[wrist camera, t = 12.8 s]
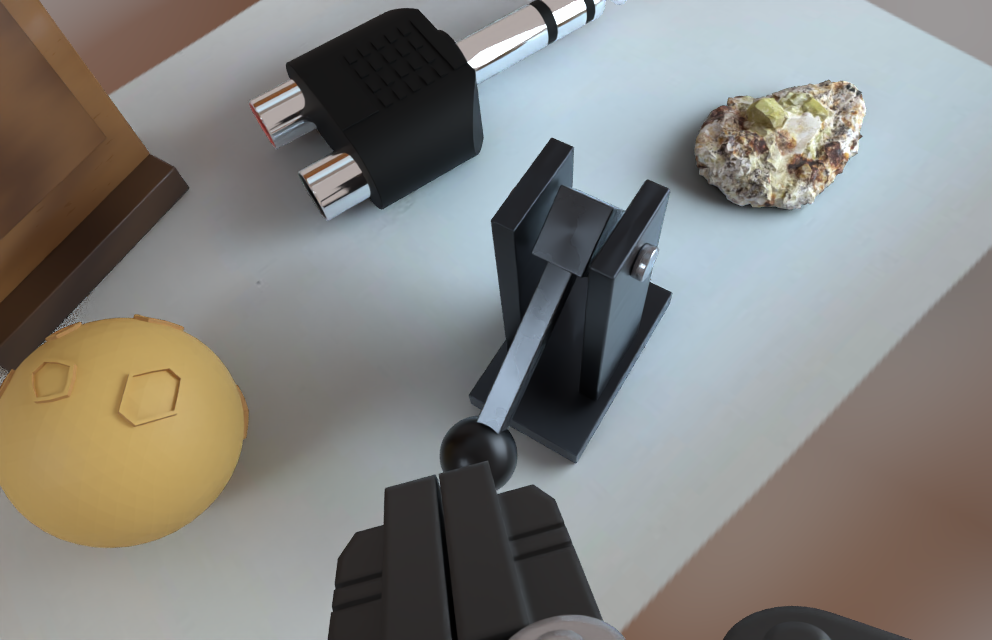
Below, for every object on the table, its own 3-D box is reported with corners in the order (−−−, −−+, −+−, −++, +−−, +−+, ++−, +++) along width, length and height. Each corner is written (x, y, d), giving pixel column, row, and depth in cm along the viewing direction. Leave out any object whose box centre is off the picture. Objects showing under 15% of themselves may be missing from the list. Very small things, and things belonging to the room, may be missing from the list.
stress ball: (287, 530, 35) (198, 471, 26) (78, 593, 35) (-85, 554, 26) (259, 347, 40) (175, 244, 31) (74, 399, 39) (-66, 309, 30)
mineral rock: (759, 224, 39) (681, 95, 40) (726, 252, 43) (657, 135, 44) (923, 144, 41) (843, 25, 42) (876, 179, 45) (805, 69, 46)
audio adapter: (228, 67, 42) (586, -114, 47) (260, 132, 47) (583, -39, 52) (319, 195, 38) (704, -21, 43) (345, 252, 42) (689, 52, 48)
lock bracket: (576, 463, 36) (587, 351, 25) (470, 403, 38) (435, 272, 26) (669, 303, 39) (717, 140, 28) (569, 255, 41) (576, 83, 30)
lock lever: (509, 496, 32) (481, 520, 29) (448, 459, 33) (414, 478, 30) (640, 217, 30) (624, 212, 27) (569, 185, 30) (545, 177, 27)
